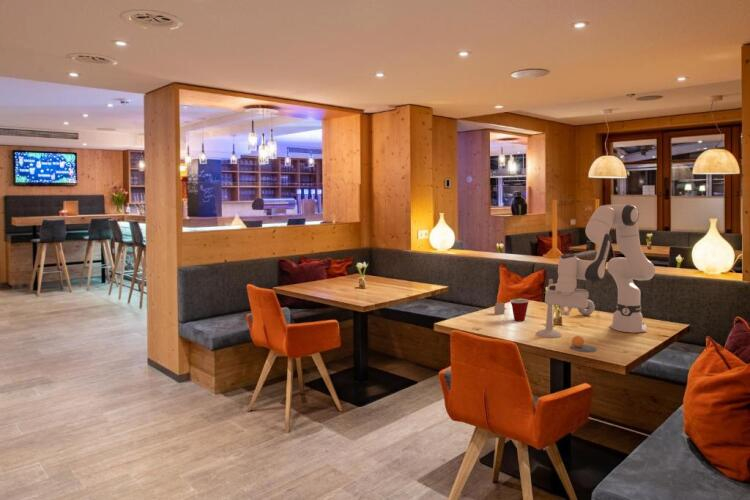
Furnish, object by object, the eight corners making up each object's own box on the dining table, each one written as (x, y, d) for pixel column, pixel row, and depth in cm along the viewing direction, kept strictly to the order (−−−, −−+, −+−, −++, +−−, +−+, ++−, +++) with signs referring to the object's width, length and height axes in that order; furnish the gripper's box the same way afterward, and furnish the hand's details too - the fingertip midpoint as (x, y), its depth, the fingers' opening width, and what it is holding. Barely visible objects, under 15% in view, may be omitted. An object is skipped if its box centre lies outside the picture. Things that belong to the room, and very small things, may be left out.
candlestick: (531, 332, 297) (533, 277, 294) (551, 330, 302) (553, 275, 298) (546, 339, 285) (548, 281, 282) (567, 336, 290) (569, 279, 286)
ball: (583, 335, 271) (586, 346, 270) (572, 336, 274) (575, 348, 273) (580, 335, 267) (583, 346, 266) (569, 337, 270) (571, 348, 269)
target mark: (574, 343, 277) (574, 343, 277) (599, 347, 270) (599, 347, 270) (566, 349, 267) (566, 348, 267) (592, 353, 260) (592, 353, 260)
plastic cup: (513, 317, 332) (514, 297, 331) (531, 319, 326) (531, 299, 325) (506, 320, 324) (507, 300, 322) (524, 323, 317) (525, 302, 316)
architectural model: (493, 313, 344) (494, 301, 343) (504, 313, 344) (505, 301, 343) (495, 315, 340) (495, 303, 339) (506, 315, 340) (506, 303, 340)
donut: (578, 316, 335) (578, 299, 334) (576, 314, 338) (577, 298, 337) (595, 316, 334) (595, 299, 333) (593, 314, 338) (593, 298, 337)
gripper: (590, 288, 267) (589, 316, 268) (548, 284, 279) (547, 311, 280) (586, 290, 262) (585, 319, 263) (544, 286, 274) (543, 313, 275)
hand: (565, 315), depth 272 cm, fingers closed
